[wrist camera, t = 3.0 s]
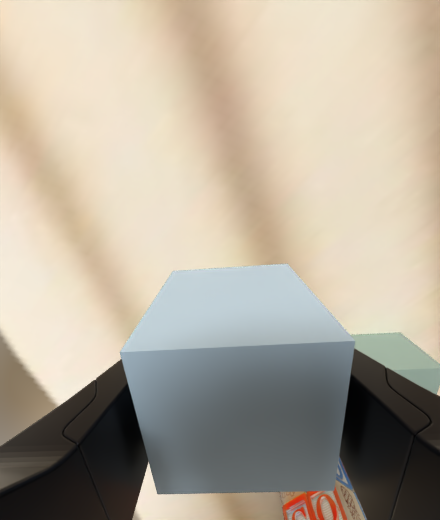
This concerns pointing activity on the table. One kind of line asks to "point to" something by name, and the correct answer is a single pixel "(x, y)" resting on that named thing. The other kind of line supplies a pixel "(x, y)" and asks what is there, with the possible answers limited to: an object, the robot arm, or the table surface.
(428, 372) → the pale green block
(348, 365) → the cube
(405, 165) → the table surface
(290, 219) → the table surface
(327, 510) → the stack of blocks
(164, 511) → the table surface
